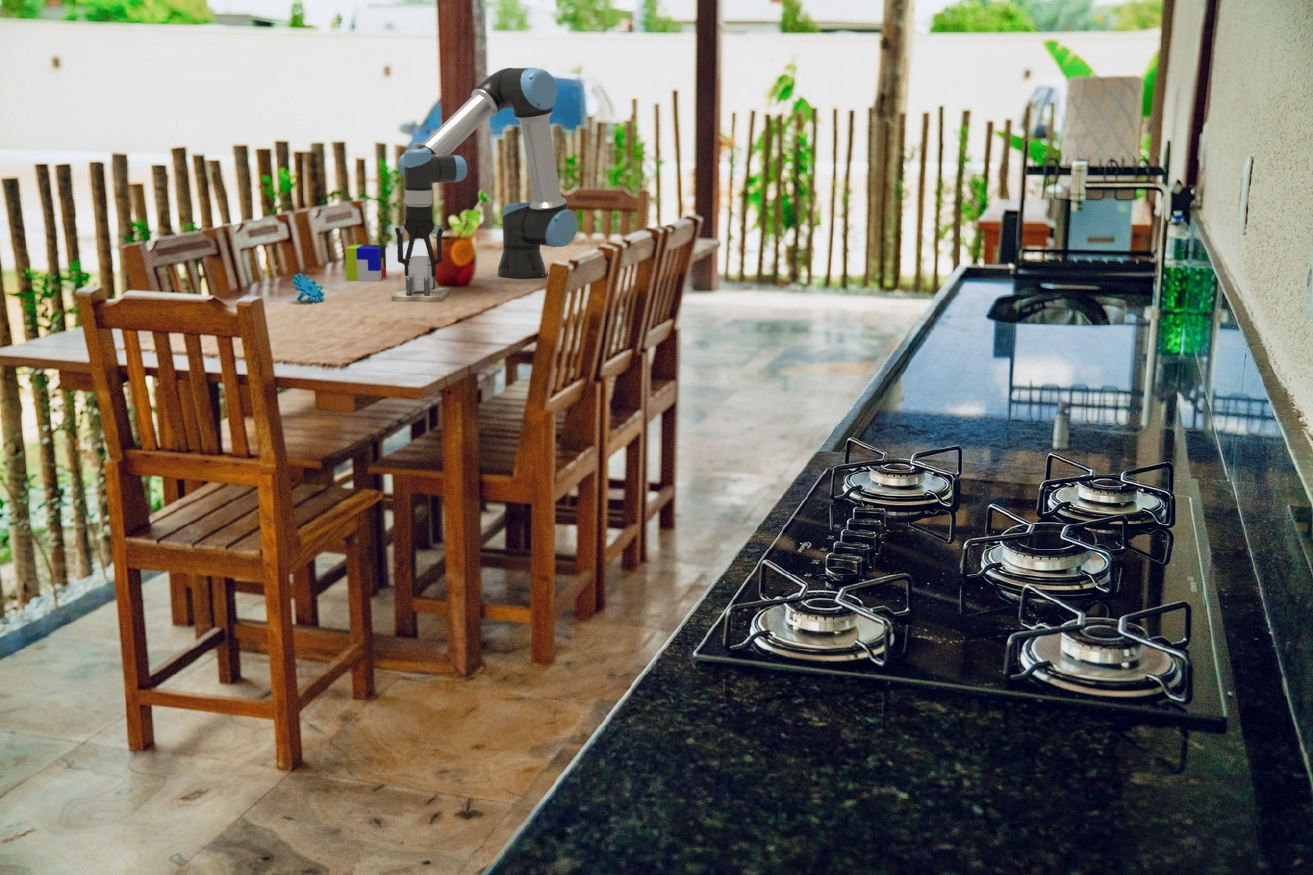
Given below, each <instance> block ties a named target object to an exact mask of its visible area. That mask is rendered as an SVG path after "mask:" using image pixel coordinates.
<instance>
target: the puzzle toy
mask: <svg viewBox="0 0 1313 875" xmlns="http://www.w3.org/2000/svg"><path fill="white" fill-rule="evenodd" d="M386 248H387V247H386V245H384V244H383V245H382V244H355V243H354V244H351V245H350V246H347V247H346V248H344V249H345V251H344V252H345V269H346V270H345V272H346V275H345V276H346V282H372V281H378V282H379V281H380V282H381V281H383V280H384V279H386V278H387V257H386V256H387V253H386V252H387V249H386ZM383 278H384V279H383ZM382 279H383V280H382Z"/></svg>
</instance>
